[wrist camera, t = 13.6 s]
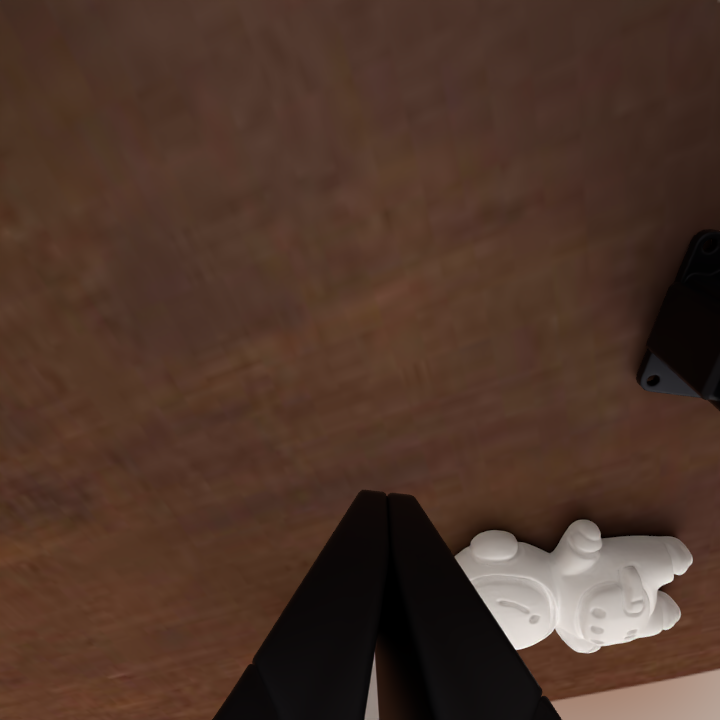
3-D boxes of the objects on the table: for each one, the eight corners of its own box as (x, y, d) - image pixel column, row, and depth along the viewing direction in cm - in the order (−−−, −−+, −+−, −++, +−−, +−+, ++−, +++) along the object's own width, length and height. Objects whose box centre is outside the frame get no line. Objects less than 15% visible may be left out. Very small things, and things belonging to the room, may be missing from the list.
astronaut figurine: (658, 634, 28) (688, 691, 25) (438, 633, 29) (444, 687, 26) (694, 512, 24) (733, 563, 21) (439, 515, 25) (445, 565, 22)
